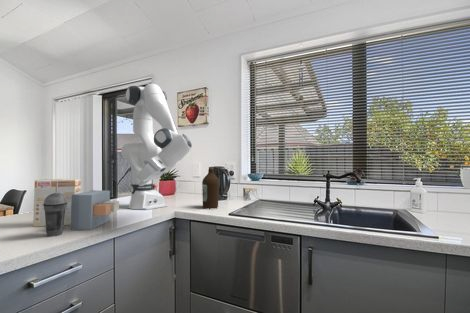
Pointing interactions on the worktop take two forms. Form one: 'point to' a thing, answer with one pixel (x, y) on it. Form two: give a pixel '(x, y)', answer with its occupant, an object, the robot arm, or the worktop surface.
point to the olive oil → (210, 189)
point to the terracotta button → (101, 209)
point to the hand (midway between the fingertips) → (140, 185)
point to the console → (87, 210)
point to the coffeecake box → (49, 187)
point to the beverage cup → (55, 213)
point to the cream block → (113, 205)
